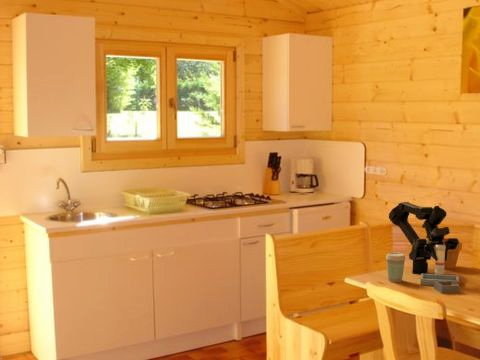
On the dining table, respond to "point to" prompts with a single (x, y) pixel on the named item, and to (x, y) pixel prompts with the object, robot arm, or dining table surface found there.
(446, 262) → the flower pot
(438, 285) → the clip block
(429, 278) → the tray
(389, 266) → the coffee cup
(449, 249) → the robot arm
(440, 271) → the fuse
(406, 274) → the dining table surface
